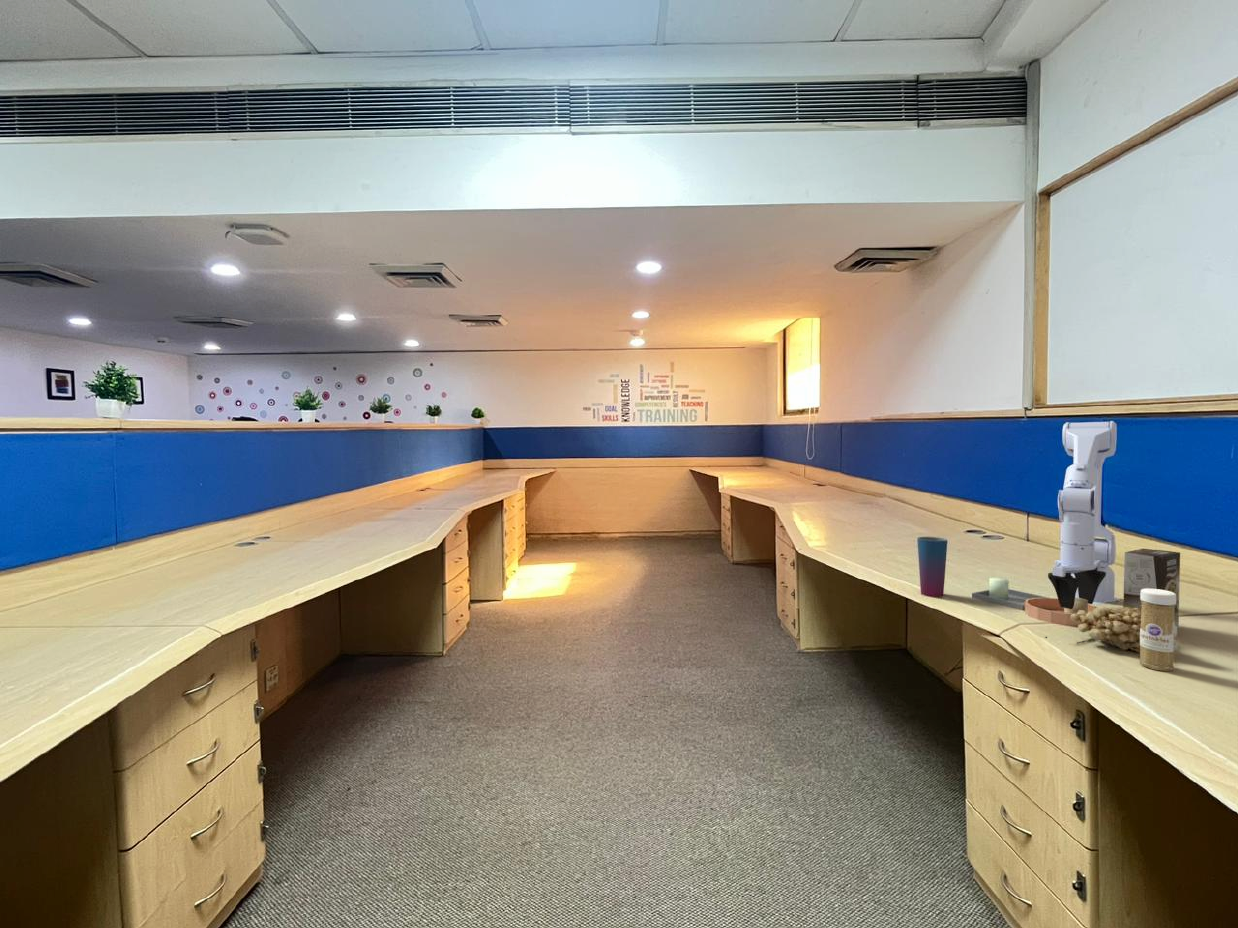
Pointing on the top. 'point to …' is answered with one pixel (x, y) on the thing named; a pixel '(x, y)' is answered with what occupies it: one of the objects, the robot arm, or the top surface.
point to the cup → (932, 565)
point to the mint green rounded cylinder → (998, 588)
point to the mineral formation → (1114, 626)
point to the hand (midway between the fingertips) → (1076, 605)
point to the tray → (1013, 601)
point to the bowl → (1050, 611)
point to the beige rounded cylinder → (1078, 606)
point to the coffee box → (1151, 575)
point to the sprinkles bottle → (1157, 629)
